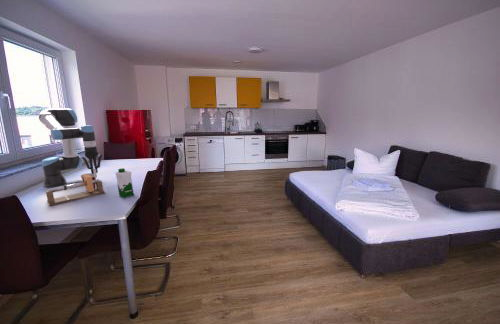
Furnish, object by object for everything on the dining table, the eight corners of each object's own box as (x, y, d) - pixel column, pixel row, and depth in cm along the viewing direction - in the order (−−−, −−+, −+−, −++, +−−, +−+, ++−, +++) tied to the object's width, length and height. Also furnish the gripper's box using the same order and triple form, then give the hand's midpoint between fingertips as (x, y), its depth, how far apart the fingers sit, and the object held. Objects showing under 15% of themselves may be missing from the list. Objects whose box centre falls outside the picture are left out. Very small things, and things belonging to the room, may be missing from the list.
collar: (85, 189, 173) (82, 175, 171) (90, 188, 176) (87, 174, 173) (89, 192, 166) (86, 177, 164) (94, 191, 168) (91, 176, 166)
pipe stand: (47, 201, 158) (44, 189, 156) (100, 190, 181) (98, 179, 179) (50, 206, 150) (47, 193, 148) (105, 193, 173) (103, 182, 171)
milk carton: (128, 192, 174) (125, 167, 170) (135, 194, 169) (132, 168, 165) (117, 196, 167) (113, 170, 163) (124, 198, 162) (120, 171, 158)
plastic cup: (90, 191, 178) (88, 176, 175) (79, 190, 180) (76, 176, 178) (102, 187, 188) (100, 173, 186) (91, 186, 191) (88, 172, 188)
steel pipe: (49, 192, 155) (48, 187, 154) (98, 182, 176) (97, 178, 175) (49, 193, 153) (48, 188, 152) (99, 183, 174) (98, 179, 173)
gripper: (80, 148, 160) (86, 180, 165) (102, 145, 170) (106, 176, 175) (78, 147, 165) (83, 178, 170) (98, 145, 175) (103, 174, 180)
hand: (95, 177), depth 172 cm, fingers closed
